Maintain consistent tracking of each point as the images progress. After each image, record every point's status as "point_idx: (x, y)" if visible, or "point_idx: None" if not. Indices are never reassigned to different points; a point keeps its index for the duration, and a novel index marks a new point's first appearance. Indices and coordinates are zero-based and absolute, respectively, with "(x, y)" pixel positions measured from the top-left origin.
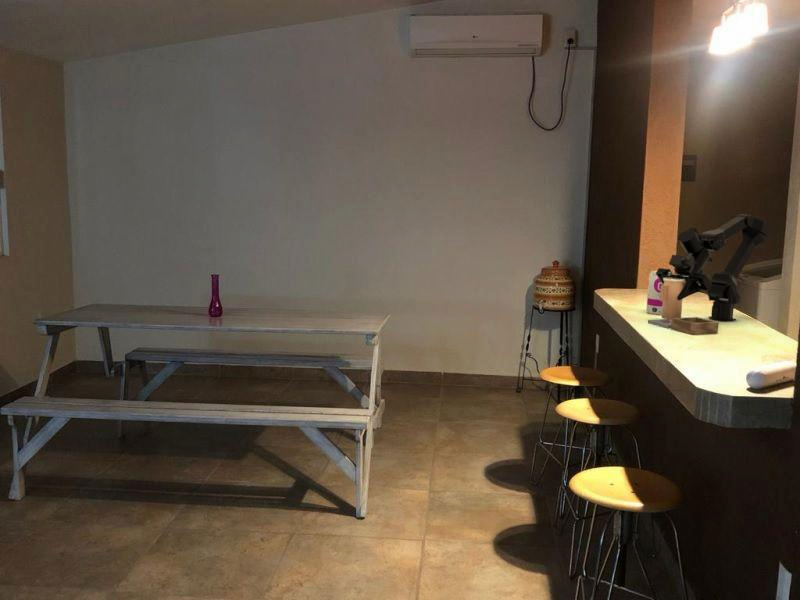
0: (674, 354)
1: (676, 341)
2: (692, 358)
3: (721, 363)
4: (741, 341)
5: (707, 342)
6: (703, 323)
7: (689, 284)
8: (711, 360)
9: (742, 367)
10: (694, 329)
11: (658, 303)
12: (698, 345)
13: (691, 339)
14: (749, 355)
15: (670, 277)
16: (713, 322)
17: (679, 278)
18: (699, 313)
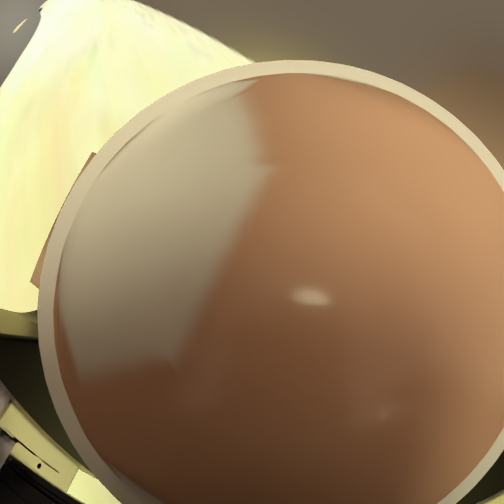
0: (111, 9)
1: (129, 64)
2: (84, 18)
3: (49, 35)
4: (3, 219)
5: (63, 121)
6: (64, 202)
7: (22, 315)
8: (60, 32)
9: (29, 46)
10: None
11: None
12: (79, 78)
13: (101, 113)
14: (6, 104)
15: (489, 443)
16: (41, 259)
17: (222, 479)
18: None
